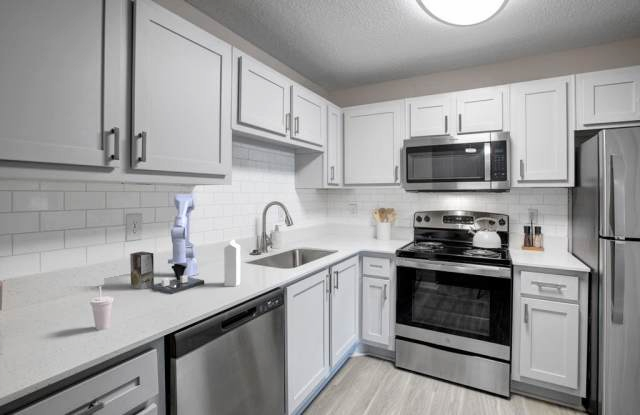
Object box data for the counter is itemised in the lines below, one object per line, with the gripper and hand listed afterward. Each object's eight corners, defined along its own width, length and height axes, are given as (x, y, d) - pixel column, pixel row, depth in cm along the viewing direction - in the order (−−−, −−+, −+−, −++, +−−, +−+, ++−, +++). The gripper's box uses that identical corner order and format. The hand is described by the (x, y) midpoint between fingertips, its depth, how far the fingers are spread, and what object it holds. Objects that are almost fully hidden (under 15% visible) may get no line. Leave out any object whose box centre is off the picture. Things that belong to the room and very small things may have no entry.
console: (185, 280, 165) (185, 274, 165) (204, 284, 158) (204, 277, 158) (152, 289, 150) (152, 282, 150) (171, 294, 143) (171, 287, 143)
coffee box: (154, 286, 154) (154, 252, 154) (141, 289, 149) (140, 255, 148) (143, 283, 159) (143, 251, 158) (130, 286, 153) (129, 253, 153)
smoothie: (98, 323, 110) (97, 283, 110) (118, 323, 111) (117, 283, 110) (86, 332, 104) (85, 289, 103) (107, 331, 104) (106, 289, 104)
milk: (224, 286, 156) (223, 241, 155) (229, 282, 162) (228, 239, 161) (236, 286, 155) (236, 241, 154) (240, 283, 161) (240, 239, 160)
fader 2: (185, 281, 155) (185, 274, 155) (187, 281, 155) (187, 275, 154) (180, 282, 153) (179, 275, 153) (182, 283, 152) (182, 276, 152)
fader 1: (167, 284, 150) (167, 277, 149) (169, 285, 149) (169, 278, 149) (161, 286, 147) (161, 279, 147) (164, 286, 146) (164, 279, 146)
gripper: (162, 251, 155) (162, 279, 156) (181, 254, 148) (182, 284, 148) (175, 249, 161) (175, 276, 162) (194, 252, 154) (194, 280, 155)
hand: (179, 279), depth 155 cm, fingers closed
